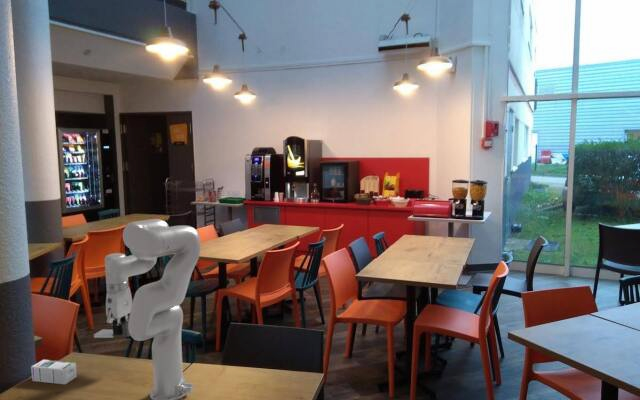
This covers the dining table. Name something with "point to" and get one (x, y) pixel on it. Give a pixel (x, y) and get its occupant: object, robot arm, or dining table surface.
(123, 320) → the robot arm
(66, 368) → the syrup box
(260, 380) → the dining table surface
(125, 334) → the two-tone stacked blocks
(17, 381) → the dining table surface
